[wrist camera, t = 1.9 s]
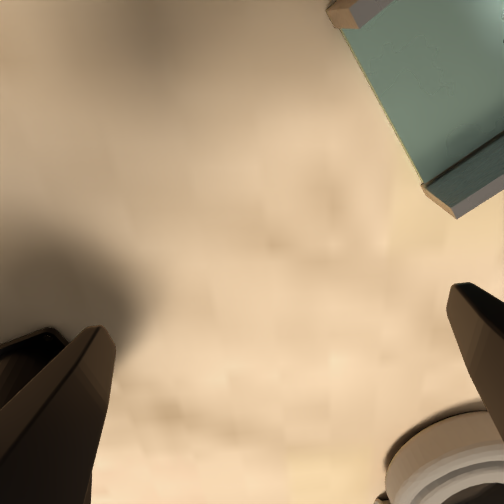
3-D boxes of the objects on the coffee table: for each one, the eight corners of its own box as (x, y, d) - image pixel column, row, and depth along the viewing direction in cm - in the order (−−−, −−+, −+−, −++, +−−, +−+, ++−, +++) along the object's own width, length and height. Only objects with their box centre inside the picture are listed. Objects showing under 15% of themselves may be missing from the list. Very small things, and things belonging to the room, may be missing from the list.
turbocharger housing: (542, 390, 35) (391, 401, 33) (609, 455, 29) (431, 473, 27) (483, 497, 43) (358, 511, 41) (527, 566, 37) (384, 585, 35)
